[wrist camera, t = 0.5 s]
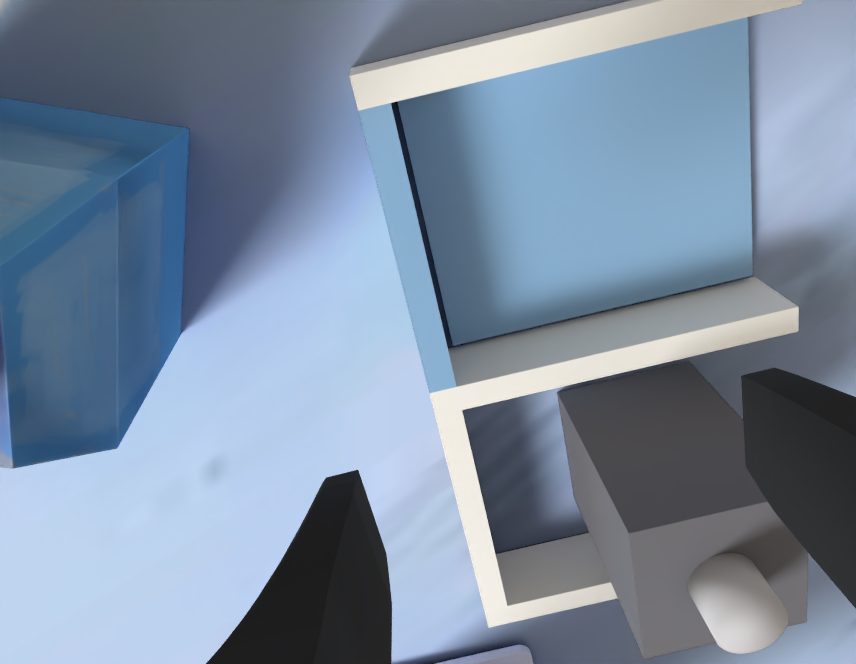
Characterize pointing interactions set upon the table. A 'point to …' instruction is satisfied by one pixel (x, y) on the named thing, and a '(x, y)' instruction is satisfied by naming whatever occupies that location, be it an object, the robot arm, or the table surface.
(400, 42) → the table surface
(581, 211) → the two-rail blue tray
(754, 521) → the plug
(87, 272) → the perfume bottle
